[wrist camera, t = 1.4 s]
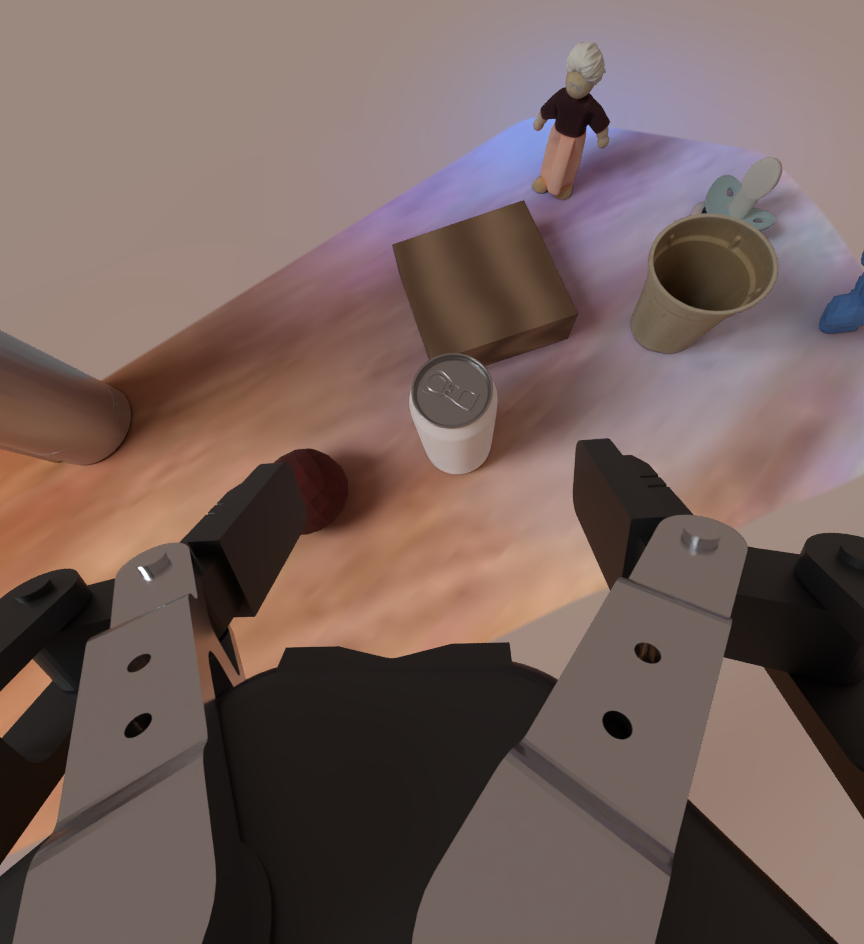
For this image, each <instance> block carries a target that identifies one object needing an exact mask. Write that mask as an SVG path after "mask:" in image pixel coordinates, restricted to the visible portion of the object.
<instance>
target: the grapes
mask: <svg viewBox="0 0 864 944" xmlns="http://www.w3.org/2000/svg"><path fill="white" fill-rule="evenodd" d="M861 264H862V265H863V266H864V251H863V254H862V258H861ZM862 325H864V272H863V274H862V276H860V277H859V279H858V281H857V283H856V285H855V289H854V290H851V292H850V293H849V294H843V295H838V296H834V298H833V299H832V301H831V303H828V305H827V307H826V309H825V311H824V313H823V314H822V316H821V318H820V323H819V329H820V330H821V331H822V332H825V333H843V332H850V331H856V330H857V329H858V327H859V326H862Z"/></svg>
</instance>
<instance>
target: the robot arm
mask: <svg viewBox="0 0 864 944" xmlns="http://www.w3.org/2000/svg"><path fill="white" fill-rule="evenodd" d="M130 421H131V409H130V405H129V402H128V400H127V398H126V397H125V396H124V395H123V394H122V393H121V392H120V391H119V390H117V389H115V388H114V387H112V386H110V385H108V384H106V383H104V382H102V381H100V380H98V379H96V378H94V377H92V376H90V375H88V374H86V373H84V372H82V371H80V370H78V369H76V368H74V367H72V366H70V365H68V364H66V363H64V362H62V361H60V360H58V359H56V358H54V357H53V356H51V355H49V354H47V353H45V352H43V351H41V350H39V349H37V348H35V347H33V346H31V345H29V344H27V343H25V342H23V341H21V340H19V339H17V338H15V337H13V336H11V335H9V334H7V333H5V332H3V331H1V330H0V449H3V450H7V451H11V452H15V453H18V454H22V455H26V456H30V457H34V458H38V459H42V460H46V461H50V462H54V463H56V462H59V461H63V462H67V463H70V464H75V465H88V464H92V463H95V462H98V461H100V460H102V459H104V458H106V457H107V456H109V455H110V454H111V453H112V452H114V451H115V450H116V449H117V447H118V446H119V445H120V444H121V443H122V441H123V440H124V438H125V436H126V434H127V432H128V429H129V426H130ZM573 503H574V508H575V512H576V515H577V517H578V519H579V522H580V524H581V526H582V528H583V531H584V533H585V535H586V537H587V540H588V542H589V544H590V546H591V549H592V551H593V553H594V555H595V558H596V560H597V562H598V564H599V567H600V569H601V571H602V573H603V576H604V578H605V580H606V582H607V585H608V587H609V589H610V592H609V594H608V596H607V597H606V599H605V601H604V603H603V604H602V606H601V608H600V609H599V611H598V613H597V615H596V616H595V618H594V620H593V622H592V623H591V625H590V627H589V628H588V630H587V632H586V633H585V635H584V637H583V639H582V640H581V642H580V644H579V645H578V647H577V649H576V651H575V652H574V654H573V656H572V657H571V659H570V661H569V663H568V664H567V666H566V668H565V669H564V671H563V673H562V675H561V676H560V678H559V680H557V679H556V678H554V677H553V676H551V675H549V674H547V673H545V672H543V671H540V670H538V669H536V668H533V667H530V666H527V665H524V664H521V663H517V662H513V661H512V659H511V652H510V644H509V642H508V643H465V644H449V645H445V646H441V647H437V648H434V649H430V650H426V651H422V652H418V653H414V654H410V655H406V656H402V657H398V658H385V657H381V656H377V655H372V654H368V653H364V652H360V651H356V650H351V649H347V648H343V647H339V646H336V647H293V648H286V649H285V651H284V654H283V656H282V658H281V660H280V663H279V665H278V667H277V668H273V669H270V670H267V671H265V672H262V673H259V674H257V675H255V676H253V677H251V678H249V679H246V678H245V674H244V670H243V666H242V663H241V659H240V655H239V651H238V647H237V644H236V640H235V636H234V633H233V631H232V629H231V627H230V625H229V624H230V622H231V621H232V619H233V617H255V616H256V614H257V612H258V611H259V609H260V607H261V605H262V603H263V602H264V600H265V598H266V596H267V594H268V593H269V591H270V589H271V587H272V585H273V584H274V582H275V580H276V578H277V576H278V575H279V573H280V571H281V569H282V567H283V566H284V564H285V562H286V560H287V558H288V557H289V555H290V553H291V551H292V549H293V548H294V546H295V544H296V542H297V540H298V539H299V537H300V535H301V533H302V531H303V530H304V528H305V524H306V508H305V505H304V502H303V499H302V496H301V493H300V490H299V486H298V483H297V480H296V477H295V474H294V471H293V469H292V467H291V465H290V464H289V463H287V462H282V463H269V464H260V465H259V466H258V467H257V468H256V469H255V470H254V471H253V472H252V473H251V474H250V475H249V476H248V477H247V478H246V479H245V480H244V482H243V483H241V484H240V485H238V486H237V487H235V488H233V489H232V490H230V491H229V492H227V493H226V494H225V495H224V497H223V498H222V499H221V500H220V501H219V502H218V503H217V505H215V506H214V507H213V508H212V509H211V510H210V511H209V512H208V515H205V516H204V517H203V518H202V520H201V521H200V522H199V523H198V524H197V525H196V526H195V527H194V528H193V529H192V530H191V531H190V532H189V533H188V534H187V535H186V536H185V537H184V538H183V539H182V540H181V541H180V543H168V544H163V545H160V546H157V547H154V548H151V549H149V550H147V551H145V552H143V553H141V554H139V555H137V556H135V557H134V558H133V559H131V560H130V561H128V562H127V563H126V564H125V565H124V566H123V567H122V568H121V569H120V570H119V571H118V573H117V575H116V578H115V579H111V580H107V581H103V582H99V583H95V584H91V585H88V586H87V585H86V583H85V582H84V580H83V579H82V578H81V576H80V575H79V574H78V572H77V571H76V570H74V569H59V570H55V571H51V572H48V573H45V574H42V575H39V576H37V577H35V578H33V579H30V580H28V581H26V582H24V583H23V584H21V585H19V586H17V587H16V588H14V589H13V590H11V591H10V592H8V593H7V594H6V595H4V596H3V597H2V598H1V599H0V691H1V690H2V689H3V688H4V687H5V686H6V685H7V684H8V683H9V682H10V681H11V680H12V679H13V678H14V677H15V676H16V675H17V674H18V673H19V672H20V671H21V670H22V669H23V668H24V667H25V666H26V665H27V664H28V663H29V662H30V661H31V660H32V659H33V660H34V661H35V662H36V663H37V664H38V665H39V666H40V667H41V668H42V669H43V670H44V672H45V673H46V674H47V675H48V676H49V677H50V678H51V679H52V680H53V681H52V682H51V683H50V684H49V686H48V687H47V688H46V689H45V690H44V691H43V692H42V693H41V695H40V696H39V697H38V698H37V699H36V700H35V701H34V702H33V704H32V705H31V706H30V707H29V708H28V709H27V710H26V711H25V713H24V714H23V715H22V716H21V717H20V718H19V719H18V720H17V722H16V723H15V724H14V725H13V726H12V727H11V728H10V729H9V731H8V732H7V733H6V734H5V735H4V736H3V737H2V738H0V865H1V863H2V862H3V860H4V859H5V857H6V856H7V855H8V853H9V852H10V850H11V849H12V848H13V846H14V845H15V843H16V842H17V840H18V839H19V838H20V836H21V835H22V833H23V832H24V831H25V829H26V828H27V826H28V825H29V823H30V822H31V821H32V819H33V818H34V816H35V815H36V814H37V812H38V811H39V809H40V808H41V806H42V805H43V804H44V802H45V801H46V799H47V798H48V797H49V795H50V794H51V792H52V791H53V789H54V788H55V787H56V785H57V784H58V782H59V781H60V780H61V778H62V777H63V775H64V774H65V776H64V782H63V788H62V795H61V801H60V807H59V813H58V819H57V823H56V826H55V829H54V831H53V833H52V834H51V835H50V836H49V837H47V838H46V839H45V840H44V841H43V842H41V843H40V844H39V845H38V846H37V847H35V848H34V849H33V850H32V851H30V853H28V854H27V855H26V856H24V857H23V858H22V859H21V860H19V861H18V862H17V863H16V864H15V865H13V866H12V867H11V868H10V869H9V870H7V871H6V872H5V873H4V874H2V875H1V876H0V944H838V943H837V942H836V941H835V940H834V939H833V938H832V937H831V936H830V935H829V934H828V933H827V932H826V931H825V930H824V929H823V928H822V927H821V926H819V925H818V923H817V922H816V921H814V920H813V919H812V918H811V917H810V916H809V915H808V914H807V913H806V912H805V911H804V910H803V909H802V908H801V907H800V906H799V905H798V904H797V903H796V902H795V901H794V900H793V899H792V898H791V897H789V896H788V895H787V894H786V893H785V892H784V891H783V890H782V889H781V888H780V887H779V886H778V885H777V884H776V883H775V882H774V881H773V880H772V879H771V878H770V877H769V876H768V875H767V874H765V872H763V871H762V870H761V869H760V868H759V867H758V866H757V865H756V864H755V863H754V862H753V861H752V860H751V859H750V858H749V857H748V856H747V855H746V854H745V853H744V852H743V851H742V850H741V849H740V848H738V847H737V846H736V845H735V844H734V843H733V842H732V841H731V840H730V839H729V838H728V837H727V836H726V835H725V834H724V833H723V832H722V831H721V830H720V829H719V828H718V827H717V826H716V825H715V824H714V823H712V822H711V821H710V820H709V819H708V818H707V817H706V816H705V815H704V814H703V813H702V812H701V811H700V810H699V809H698V808H697V807H696V806H695V805H694V804H693V803H692V802H691V801H690V800H689V799H688V795H689V791H690V787H691V783H692V779H693V776H694V772H695V768H696V764H697V760H698V756H699V752H700V748H701V744H702V740H703V736H704V732H705V727H706V724H707V720H708V716H709V712H710V708H711V704H712V700H713V696H714V692H715V688H716V684H717V680H718V676H719V672H720V668H721V664H722V660H723V657H725V658H729V659H733V660H738V661H742V662H746V663H750V664H754V665H758V666H763V667H764V668H765V670H766V671H767V673H768V674H769V676H770V677H771V679H772V680H773V682H774V684H775V685H776V687H777V688H778V690H779V691H780V693H781V694H782V696H783V697H784V699H785V700H786V702H787V703H788V705H789V706H790V708H791V709H792V711H793V712H794V714H795V715H796V717H797V718H798V720H799V721H800V723H801V724H802V726H803V727H804V729H805V730H806V732H807V734H808V735H809V737H810V738H811V739H812V741H813V743H814V744H815V746H816V747H817V749H818V750H819V752H820V753H821V755H822V756H823V758H824V759H825V761H826V762H827V764H828V766H829V767H830V768H831V770H832V772H833V773H834V775H835V776H836V778H837V779H838V781H839V782H840V784H841V785H842V786H843V788H844V790H845V791H846V793H847V794H848V796H849V797H850V799H851V800H852V802H853V803H854V805H855V807H856V808H857V809H858V811H859V813H860V814H861V816H862V817H863V819H864V538H863V537H859V536H854V535H849V534H841V533H822V534H817V535H814V536H811V537H810V538H808V539H807V541H806V542H805V544H804V547H803V549H802V551H801V553H800V554H793V553H786V552H780V551H772V550H766V549H759V548H753V547H748V546H747V543H746V541H745V539H744V538H743V537H742V536H741V535H740V534H739V533H738V532H737V531H736V530H734V529H733V528H731V527H730V526H728V525H726V524H724V523H722V522H719V521H717V520H714V519H710V518H707V517H702V516H696V515H693V514H692V513H691V511H690V510H689V509H688V508H687V507H686V506H685V505H684V504H683V502H682V501H681V500H680V499H679V498H678V497H677V496H676V495H675V493H674V492H673V491H672V490H671V489H670V488H669V487H667V486H666V483H665V482H664V481H663V480H662V479H661V478H660V477H658V474H657V473H656V472H655V471H654V470H653V469H652V468H651V466H650V465H649V464H648V463H646V462H644V461H642V460H640V459H638V458H636V457H634V456H632V455H622V454H621V452H620V451H619V450H618V449H617V447H616V446H615V445H614V444H613V442H612V441H611V440H610V439H609V438H605V439H592V440H579V441H578V442H577V445H576V453H575V468H574V482H573Z"/></svg>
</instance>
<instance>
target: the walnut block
mask: <svg viewBox="0 0 864 944" xmlns="http://www.w3.org/2000/svg"><path fill="white" fill-rule="evenodd" d="M392 246H393V250H394V254H395V258H396V262H397V266H398V270H399V274H400V277H401V280H402V283H403V286H404V289H405V292H406V294H407V297H408V300H409V303H410V306H411V309H412V312H413V315H414V318H415V321H416V323H417V326H418V329H419V332H420V335H421V338H422V341H423V344H424V347H425V350H426V352H427V355H428V358H429V360H431V359H432V358H434V357H436V356H439V355H442V354H447V353H460V354H465V355H468V356H471V357H473V358H475V359H476V360H478V361H479V362H480V363H482V364H483V365H484V366H486V365H489V364H492V363H495V362H498V361H501V360H504V359H507V358H510V357H513V356H516V355H519V354H522V353H525V352H528V351H531V350H534V349H537V348H540V347H543V346H546V345H549V344H552V343H555V342H558V341H561V340H564V339H567V338H568V336H569V334H570V332H571V329H572V327H573V324H574V322H575V320H576V317H577V315H578V313H577V311H576V309H575V306H574V304H573V302H572V300H571V298H570V296H569V294H568V292H567V290H566V288H565V285H564V283H563V281H562V279H561V277H560V275H559V273H558V271H557V269H556V267H555V264H554V262H553V260H552V258H551V256H550V254H549V252H548V250H547V248H546V246H545V243H544V241H543V239H542V237H541V235H540V233H539V231H538V229H537V227H536V225H535V222H534V220H533V218H532V216H531V214H530V212H529V210H528V208H527V206H526V204H525V201H524V200H523V201H520V202H517V203H514V204H511V205H508V206H505V207H502V208H499V209H496V210H493V211H490V212H488V213H485V214H482V215H479V216H476V217H473V218H470V219H467V220H464V221H461V222H458V223H455V224H452V225H449V226H446V227H443V228H440V229H437V230H434V231H431V232H428V233H426V234H423V235H420V236H417V237H414V238H411V239H408V240H405V241H402V242H399V243H396V244H393V245H392Z"/></svg>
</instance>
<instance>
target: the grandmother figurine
mask: <svg viewBox="0 0 864 944" xmlns="http://www.w3.org/2000/svg"><path fill="white" fill-rule="evenodd" d="M566 69H567V76H566V87H565V88H562V89H560V90H559V91H558V92H557V93H555V94H554V95H553V96H552V97H551V98H550V99H549V100H548V101H547V102H546V103H545V105H543V106H542V108H541V111H540V113H539V114H538V117H537V119H536V120H535V121H534V125H533V126H534V129H535V130H536V131H539V130H541V129H542V128H543V126H544V124H545V123H546V121H547V120H548V119H556V121H555V123H554V125H553V127H552V129H551V132H550V135H549V139H548V143H547V147H546V151H545V156H544V159H543V163H542V168H541V173H540V174H541V176H540V177H538V178H537V179H536V180H535V181H534V182H533V184H532V188H533V190H534V191H536V192H538V193H544V192H546V191H548V192H549V193H551V194H553V195H554V197H555V198H557V199H561V200H565V199H567V198H569V197H570V195H571V192H572V187H573V182H574V179H575V176H576V173H577V170H578V167H579V164H580V161H581V157H582V152H583V148H584V143H585V138H586V127H587V125H589V126H590V127H591V128H592V130H593V131H594V132H595V133H596V134H597V138H598V146H599V147H600V148H605V147H606V146H607V145H608V143H609V137H608V125H609V123H610V121H609V119H608V117H607V116H606V113H605V111H604V110H603V108H602V106H601V105H600V104H599V103H598V102H597V101H596V100H595V99H594V98H593V97H592V95H591V94H590V93H589V92H590V91H591V90H592V88H593V86H594V85H596V84H597V83H598V82H599V81H600V80H601V79H602V76H603V74H604V73H605V68H604V59H603V55H602V53H601V52H600V50H599V48H598V46H597V44H596V43H594V42H581V43H579V44H578V45H576V46H575V47H574V48H573V50H572V51H571V52H570V54H569V57H568V59H567V63H566Z"/></svg>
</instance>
